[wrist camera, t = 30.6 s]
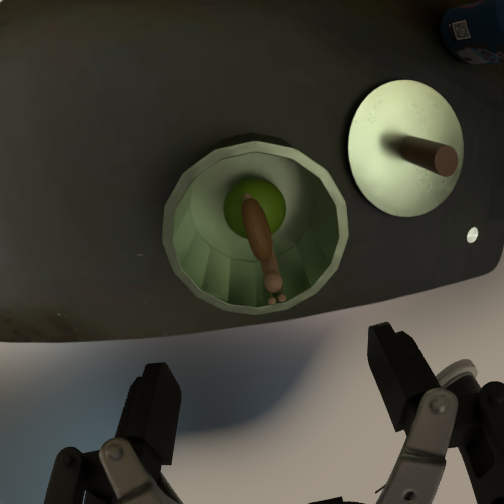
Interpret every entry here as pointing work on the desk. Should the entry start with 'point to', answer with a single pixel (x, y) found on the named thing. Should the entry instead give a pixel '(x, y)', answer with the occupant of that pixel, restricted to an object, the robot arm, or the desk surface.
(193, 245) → the pot
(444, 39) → the soda can
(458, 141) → the pot lid
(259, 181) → the snail figurine
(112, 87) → the desk surface
